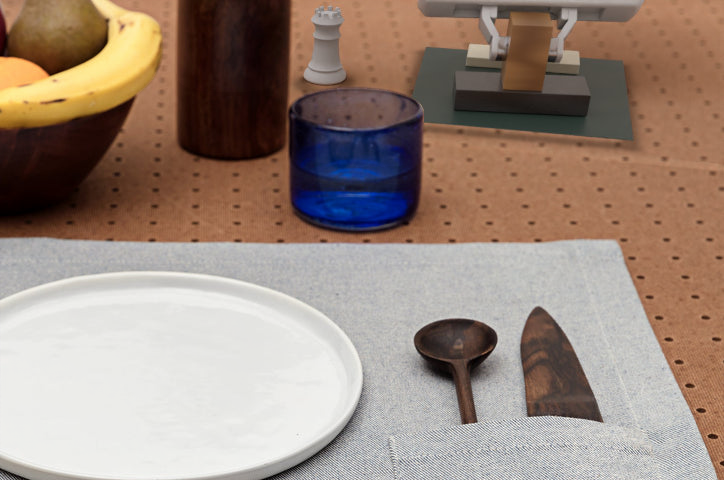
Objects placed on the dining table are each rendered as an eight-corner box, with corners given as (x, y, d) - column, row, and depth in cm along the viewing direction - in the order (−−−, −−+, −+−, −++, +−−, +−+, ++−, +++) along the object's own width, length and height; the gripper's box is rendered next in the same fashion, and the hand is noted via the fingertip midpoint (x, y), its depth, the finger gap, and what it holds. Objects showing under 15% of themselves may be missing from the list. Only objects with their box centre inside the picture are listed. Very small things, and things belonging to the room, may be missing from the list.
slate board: (620, 71, 111) (623, 60, 110) (630, 152, 95) (633, 140, 94) (424, 57, 115) (425, 46, 115) (403, 132, 100) (404, 120, 99)
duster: (580, 96, 103) (596, 12, 98) (586, 116, 99) (604, 30, 94) (452, 90, 104) (462, 8, 100) (453, 110, 100) (464, 25, 96)
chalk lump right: (577, 60, 110) (579, 51, 110) (577, 74, 107) (579, 64, 106) (537, 57, 111) (538, 48, 111) (536, 71, 108) (538, 61, 107)
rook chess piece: (335, 77, 111) (339, 0, 106) (353, 93, 107) (359, 13, 103) (295, 83, 110) (297, 5, 105) (312, 99, 106) (316, 19, 102)
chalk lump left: (507, 55, 112) (508, 46, 111) (505, 69, 109) (507, 59, 108) (468, 52, 113) (469, 43, 112) (465, 66, 110) (466, 56, 109)
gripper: (422, -100, 99) (414, 40, 97) (653, -97, 96) (650, 47, 94) (416, -63, 105) (408, 70, 103) (633, -59, 103) (630, 77, 100)
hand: (525, 59), depth 99 cm, fingers closed on duster, 3 cm apart
